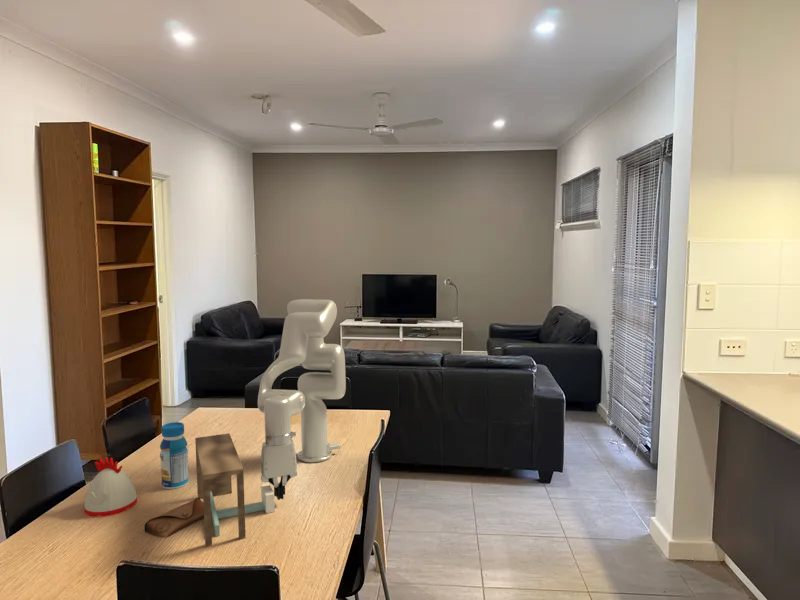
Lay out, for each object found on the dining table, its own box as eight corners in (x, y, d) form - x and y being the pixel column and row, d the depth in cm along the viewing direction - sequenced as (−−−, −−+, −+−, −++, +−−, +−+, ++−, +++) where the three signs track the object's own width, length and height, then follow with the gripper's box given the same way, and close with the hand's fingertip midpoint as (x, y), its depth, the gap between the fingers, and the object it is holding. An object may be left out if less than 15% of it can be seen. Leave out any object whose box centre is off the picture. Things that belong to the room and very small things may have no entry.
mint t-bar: (265, 491, 168) (264, 474, 168) (279, 522, 148) (279, 504, 148) (208, 501, 161) (208, 484, 161) (215, 536, 142) (215, 516, 141)
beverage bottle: (184, 489, 170) (181, 428, 169) (157, 490, 170) (154, 429, 168) (192, 478, 179) (190, 420, 177) (166, 479, 178) (164, 421, 176)
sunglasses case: (164, 540, 140) (154, 516, 141) (150, 547, 143) (141, 524, 144) (218, 511, 155) (209, 490, 156) (204, 518, 159) (196, 497, 160)
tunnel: (231, 492, 168) (229, 433, 167) (245, 538, 141) (243, 468, 139) (197, 498, 164) (195, 437, 162) (205, 547, 137) (202, 475, 135)
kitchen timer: (105, 494, 167) (102, 448, 166) (146, 496, 166) (144, 450, 164) (73, 516, 153) (70, 466, 152) (118, 518, 152) (115, 468, 151)
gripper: (299, 430, 164) (301, 487, 166) (250, 438, 158) (252, 497, 159) (306, 438, 157) (307, 497, 159) (254, 446, 151) (256, 508, 153)
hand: (279, 497), depth 159 cm, fingers closed
